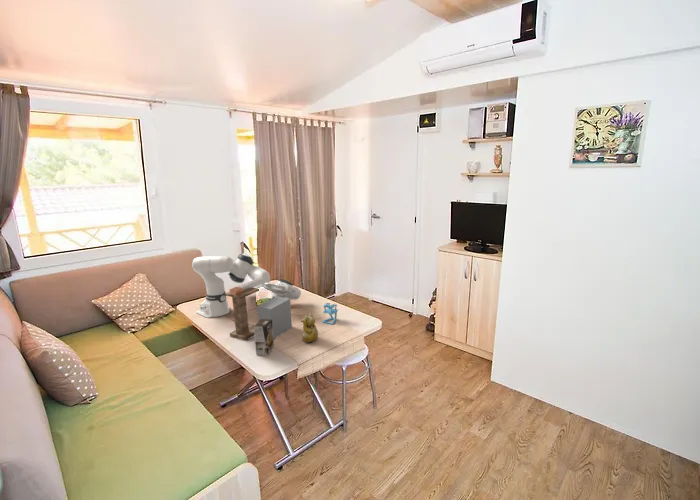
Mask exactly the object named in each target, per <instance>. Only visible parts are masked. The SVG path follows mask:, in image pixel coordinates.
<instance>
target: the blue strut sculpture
mask: <svg viewBox="0 0 700 500" xmlns="http://www.w3.org/2000/svg"><path fill="white" fill-rule="evenodd" d="M337 304H338V303H337ZM337 304H331V303H330V302H326V303H324V305H323V308H324V310H323V311H322V312H323V314H328V315H329V318H327V319H323V320H322V321H321V322H322V323H323V324H326V325H331V326H332V325H334V324H335V322H336V321H337V320H338V319H337V315H338V310H339V309H337V306H338V305H337ZM333 315H334V316H333ZM331 320H333V321H332V322H329V321H331Z"/></svg>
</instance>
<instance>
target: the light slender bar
mask: <svg viewBox="0 0 700 500" xmlns="http://www.w3.org/2000/svg"><path fill="white" fill-rule="evenodd" d="M263 283H265V279H264V278H262V277H260V278H258V279H255V280H251V281H248V282H246V283H243V284H241V285H238V286H234V287H231V288H229V292H230V295H235V296H236V295H239V294H241V293H243V292H244V291H246V290H249V289H251V288H257V287H258V285H260V284H263Z"/></svg>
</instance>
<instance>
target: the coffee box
mask: <svg viewBox="0 0 700 500" xmlns="http://www.w3.org/2000/svg"><path fill="white" fill-rule="evenodd" d="M253 325H254V334H255V335H254V343H255V355H257V356H269V354H270V353H271V352H272V351H273V349H274V348H275V340H274V339H275V338H273V326H272V319H261V320H260V321H259V322H256V323H255V324H253Z"/></svg>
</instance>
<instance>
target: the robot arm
mask: <svg viewBox="0 0 700 500" xmlns="http://www.w3.org/2000/svg"><path fill="white" fill-rule="evenodd" d="M191 263H192V264H191V267H192V269H193V271H194V272H195V273H197V274H198V275H199V276H200V277H201V278H202V280H203V281H204V284H205V289H206V293H204V297H205V299H204V300H203V301H202V302H200V304H199V309H198V310H196V312H195V313H196V314H198V315H200V316H202V317H205V318H207V319H210V318H217V317H221V316H225V315H227V314H229V313H230V311H231V310H230V309H231V307H230V306H229V302H228V298H227V296H225V293H227V292H226V289H225V281H224V280H223V278H222V277H219V276H218V275H216V274H223V273H227V274H228V276H229V278H230V281H232V282H234V283H237V284H242V283H244V281H245V280H246V277H247V276H248V277H249V279H250V280H251V281H253V280H255V279H258V278H260V277H262V278H264V279H265V283H263V284H260V285H258V286H257V288H260V287H264V288H265V289H267V290H269V291H270V292H271V293H272V297H273V298H274V297H276V296H277V297H283V298H288V299H290V300H294V301H295V300H298V299H299V298H300V297H301V295H302V292H301V289H299V288H298V287H296V286H294V285H293V283H292V282H291V281H289V280H286V279H284V278H281V279H278V280H277V281H276V283H275V282H274V283H273V282H272V283H271V275H270V272H269V271H267V270H266V269H264V268H262V267H260V266H256V265H253V264H255V262H254V261H253V258H252V257H251V255H249V254H247V253H240V254H238V256H237V259H236V260H234V259H233V258H231V257H230V256H225V255H210V256H209V255H207V256H205V255H204V256H197V257H195V258H193V260H192V262H191Z"/></svg>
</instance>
